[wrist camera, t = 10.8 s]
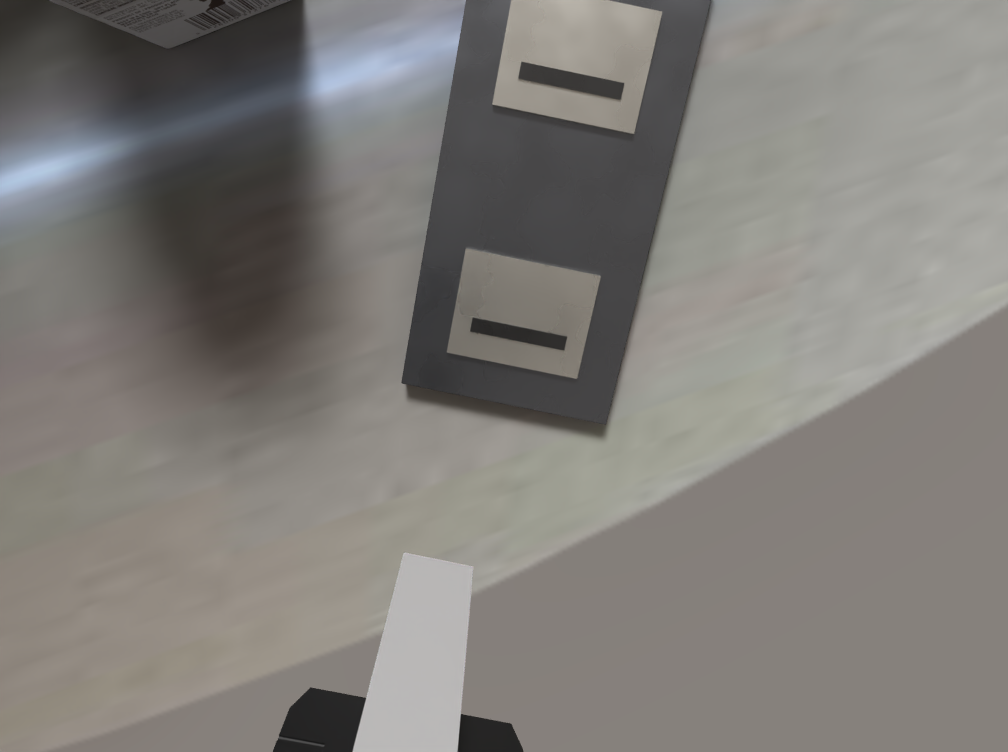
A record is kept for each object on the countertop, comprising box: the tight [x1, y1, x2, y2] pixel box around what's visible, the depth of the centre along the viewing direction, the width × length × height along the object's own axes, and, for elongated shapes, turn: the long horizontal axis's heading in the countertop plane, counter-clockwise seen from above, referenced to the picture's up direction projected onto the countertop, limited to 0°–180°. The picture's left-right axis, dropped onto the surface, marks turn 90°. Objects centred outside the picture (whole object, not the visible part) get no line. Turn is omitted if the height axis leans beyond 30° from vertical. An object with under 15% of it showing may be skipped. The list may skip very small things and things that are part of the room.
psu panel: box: [402, 0, 711, 424], centre depth 29 cm, size 9×18×1 cm, turn 169°
